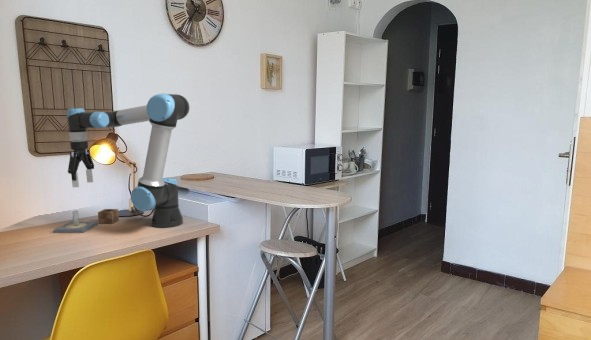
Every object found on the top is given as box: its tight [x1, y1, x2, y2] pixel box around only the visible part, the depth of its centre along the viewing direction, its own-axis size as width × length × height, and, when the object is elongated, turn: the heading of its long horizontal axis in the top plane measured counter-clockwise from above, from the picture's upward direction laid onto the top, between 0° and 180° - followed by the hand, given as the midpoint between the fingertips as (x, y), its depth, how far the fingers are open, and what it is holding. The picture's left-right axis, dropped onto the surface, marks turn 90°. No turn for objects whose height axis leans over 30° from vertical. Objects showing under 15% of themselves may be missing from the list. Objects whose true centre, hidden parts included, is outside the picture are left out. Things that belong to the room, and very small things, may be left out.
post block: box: [53, 210, 99, 234], centre depth 207 cm, size 14×14×8 cm
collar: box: [97, 208, 120, 225], centre depth 218 cm, size 7×7×6 cm
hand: (83, 184), depth 209 cm, fingers open, 13 cm apart
